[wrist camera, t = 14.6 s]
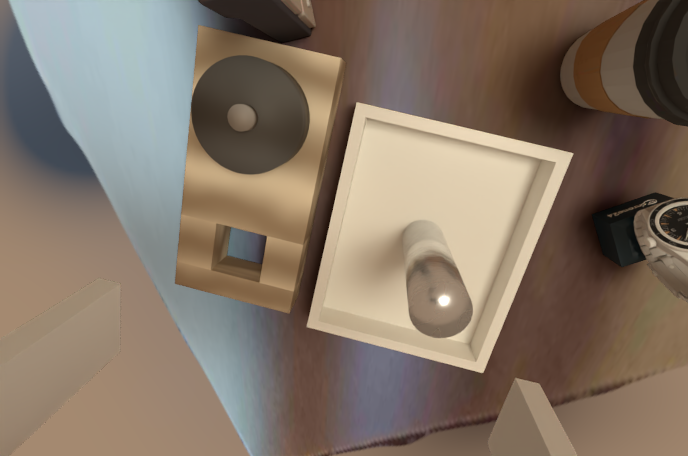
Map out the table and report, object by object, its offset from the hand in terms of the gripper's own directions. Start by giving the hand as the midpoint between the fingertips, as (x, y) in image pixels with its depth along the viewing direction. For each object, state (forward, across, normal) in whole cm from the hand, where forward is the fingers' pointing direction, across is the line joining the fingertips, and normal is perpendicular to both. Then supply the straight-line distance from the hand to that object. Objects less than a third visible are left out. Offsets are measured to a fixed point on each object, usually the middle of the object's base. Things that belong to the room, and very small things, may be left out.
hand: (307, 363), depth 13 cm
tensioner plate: (+27, -10, -1) cm, 29 cm away
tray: (+27, +7, -3) cm, 28 cm away
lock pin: (+26, +7, -3) cm, 27 cm away
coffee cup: (+27, +17, +14) cm, 35 cm away
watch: (+27, +25, +2) cm, 37 cm away
